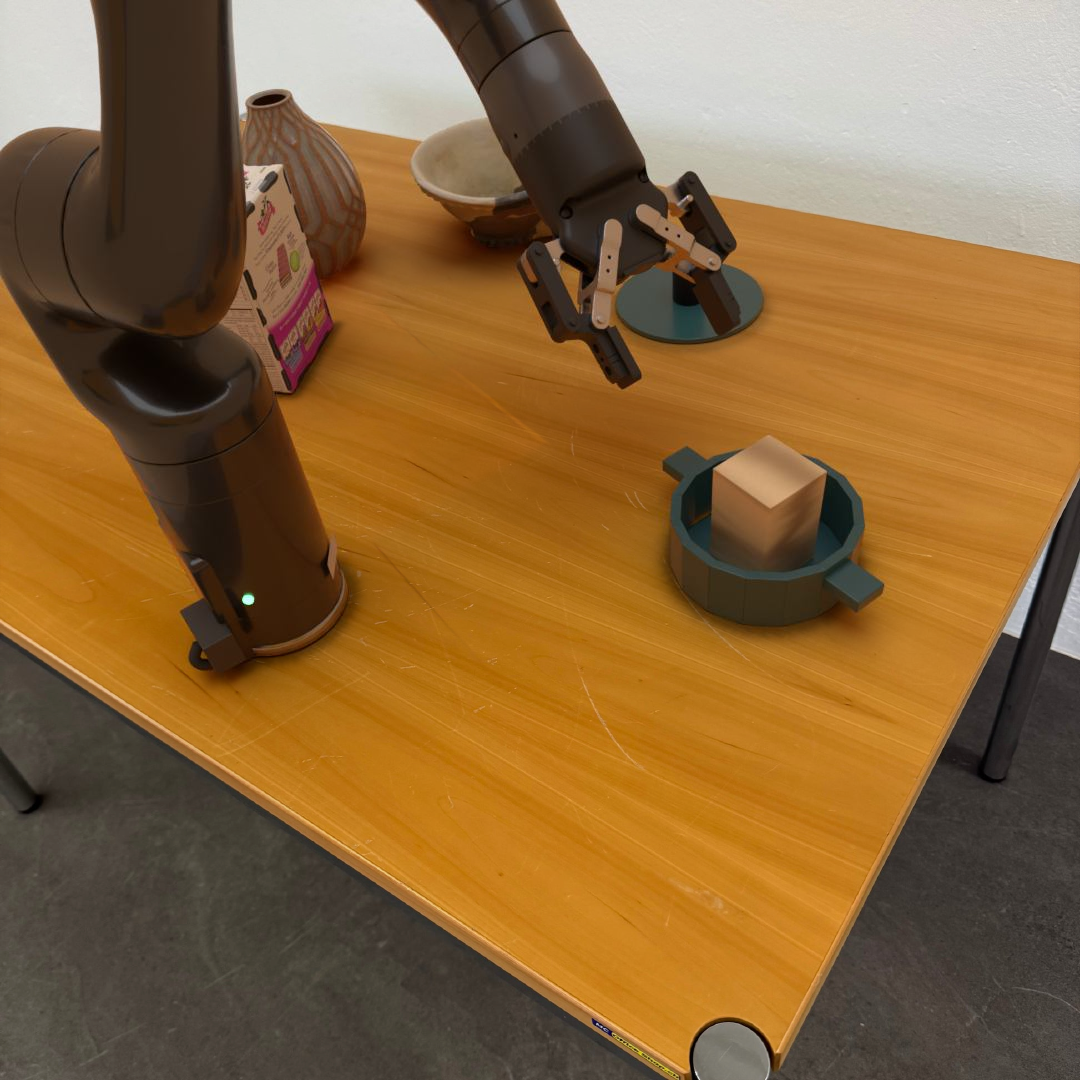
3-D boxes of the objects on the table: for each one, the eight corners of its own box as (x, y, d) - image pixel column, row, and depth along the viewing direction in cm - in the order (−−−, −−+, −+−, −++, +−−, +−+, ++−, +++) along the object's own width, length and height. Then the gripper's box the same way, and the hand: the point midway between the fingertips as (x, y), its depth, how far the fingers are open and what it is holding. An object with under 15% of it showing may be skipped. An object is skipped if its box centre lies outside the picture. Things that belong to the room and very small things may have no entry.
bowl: (393, 260, 100) (372, 173, 94) (487, 186, 110) (474, 102, 104) (533, 294, 93) (521, 202, 86) (620, 211, 103) (616, 122, 96)
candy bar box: (288, 324, 94) (233, 162, 82) (335, 326, 93) (286, 161, 81) (242, 394, 86) (174, 226, 74) (292, 396, 85) (232, 226, 73)
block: (761, 594, 63) (770, 508, 57) (709, 553, 66) (712, 468, 60) (813, 558, 65) (827, 471, 59) (760, 519, 68) (768, 433, 62)
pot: (793, 688, 58) (801, 639, 55) (610, 534, 69) (607, 484, 66) (926, 588, 63) (941, 536, 59) (734, 457, 73) (737, 407, 70)
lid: (683, 368, 82) (684, 302, 77) (587, 308, 90) (582, 244, 86) (793, 307, 87) (800, 241, 82) (692, 255, 95) (693, 192, 90)
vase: (344, 303, 95) (295, 129, 83) (234, 292, 99) (170, 124, 87) (398, 239, 104) (360, 71, 91) (294, 231, 107) (244, 69, 95)
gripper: (487, 139, 54) (623, 388, 56) (673, 64, 59) (794, 293, 61) (453, 198, 61) (574, 417, 63) (622, 126, 66) (731, 330, 68)
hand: (682, 356), depth 62 cm, fingers open, 8 cm apart
